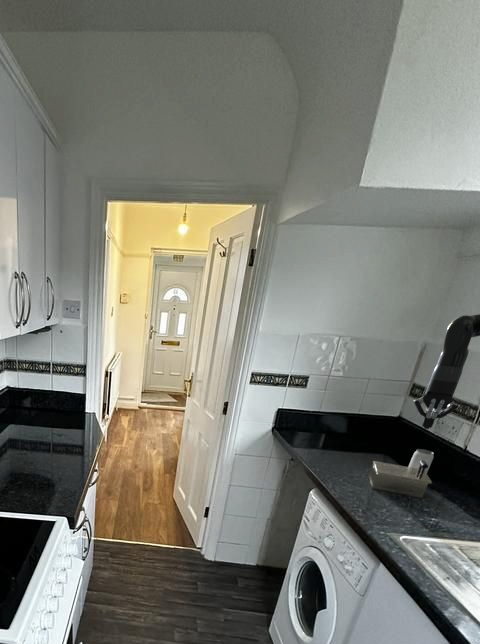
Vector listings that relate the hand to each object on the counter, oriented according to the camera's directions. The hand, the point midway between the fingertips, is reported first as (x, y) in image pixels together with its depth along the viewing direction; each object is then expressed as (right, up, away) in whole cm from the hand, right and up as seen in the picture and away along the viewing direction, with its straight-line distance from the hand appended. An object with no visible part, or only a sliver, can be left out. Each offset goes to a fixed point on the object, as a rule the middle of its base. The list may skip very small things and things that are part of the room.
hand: (425, 428), depth 147 cm
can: (+13, -18, +23) cm, 32 cm away
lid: (-1, -16, +11) cm, 19 cm away
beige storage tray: (-1, -21, +14) cm, 25 cm away
